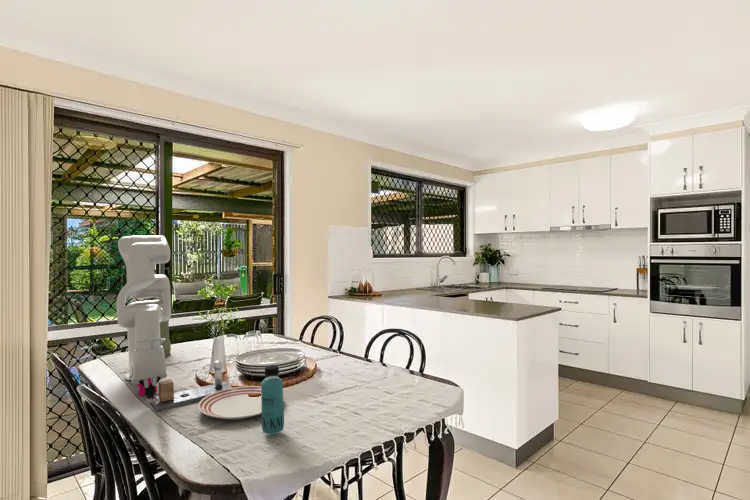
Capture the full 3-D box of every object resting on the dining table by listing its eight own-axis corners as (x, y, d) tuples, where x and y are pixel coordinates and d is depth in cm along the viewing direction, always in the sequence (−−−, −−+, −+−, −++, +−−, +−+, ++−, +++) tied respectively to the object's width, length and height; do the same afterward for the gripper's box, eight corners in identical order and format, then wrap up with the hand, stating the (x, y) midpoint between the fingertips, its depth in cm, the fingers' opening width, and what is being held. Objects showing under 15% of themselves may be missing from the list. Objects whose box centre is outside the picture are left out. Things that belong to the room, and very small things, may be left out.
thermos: (177, 353, 216) (174, 284, 214) (157, 359, 205) (154, 286, 204) (164, 351, 219) (161, 283, 218) (144, 358, 208) (141, 286, 207)
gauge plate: (151, 402, 152) (149, 370, 151) (225, 385, 168) (224, 356, 167) (157, 411, 144) (155, 377, 143) (234, 392, 160) (233, 361, 159)
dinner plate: (283, 390, 162) (283, 381, 161) (283, 421, 135) (283, 410, 135) (205, 397, 156) (205, 388, 156) (190, 431, 129) (189, 420, 129)
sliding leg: (159, 398, 150) (158, 381, 150) (171, 395, 153) (170, 379, 153) (161, 401, 147) (160, 384, 147) (174, 399, 150) (173, 382, 150)
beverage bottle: (263, 429, 128) (261, 363, 128) (286, 428, 129) (284, 362, 128) (259, 440, 122) (257, 370, 121) (283, 438, 123) (281, 369, 122)
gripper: (169, 338, 154) (171, 389, 154) (121, 346, 145) (123, 399, 145) (174, 342, 148) (176, 395, 149) (124, 350, 139) (127, 406, 139)
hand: (150, 397), depth 147 cm, fingers closed
